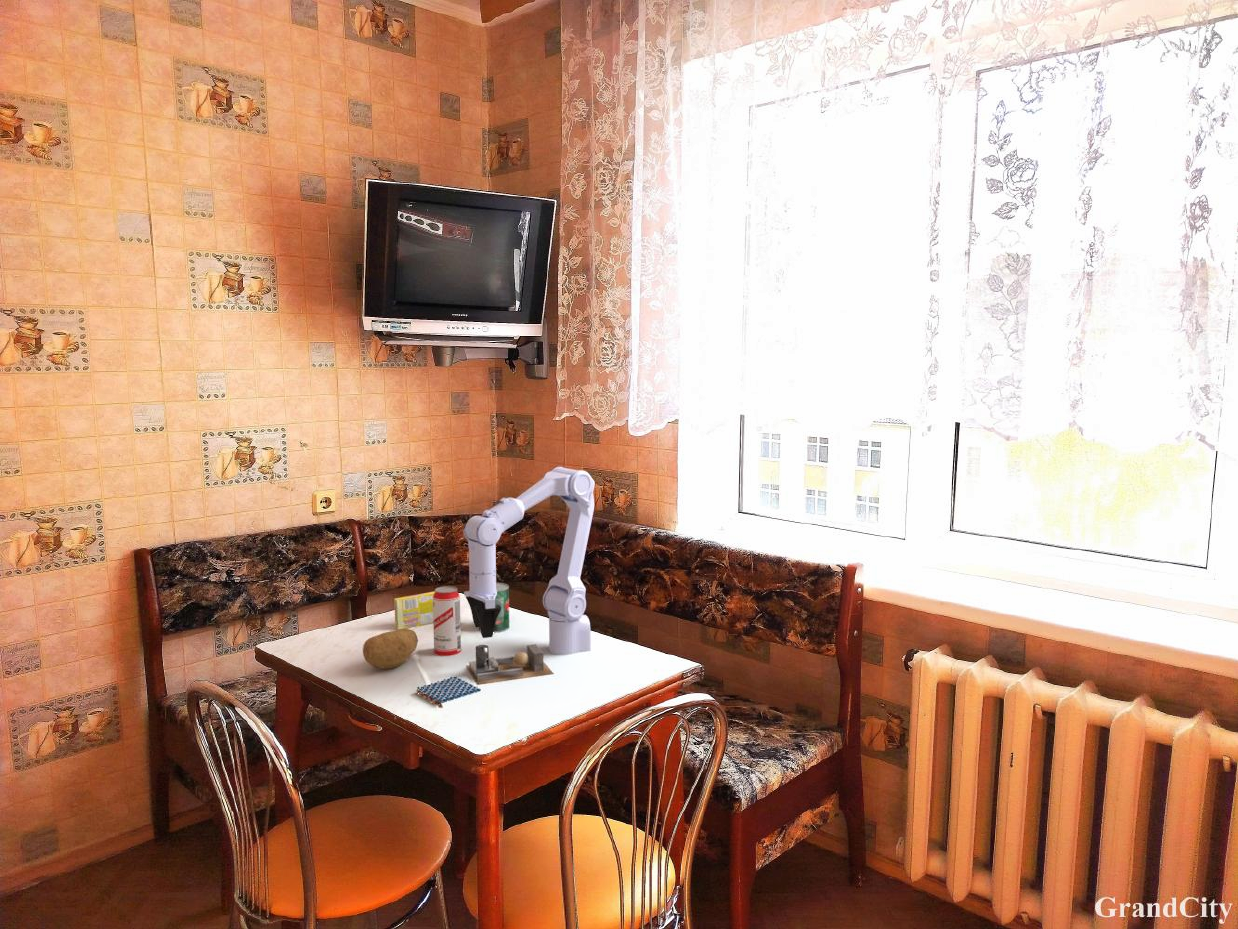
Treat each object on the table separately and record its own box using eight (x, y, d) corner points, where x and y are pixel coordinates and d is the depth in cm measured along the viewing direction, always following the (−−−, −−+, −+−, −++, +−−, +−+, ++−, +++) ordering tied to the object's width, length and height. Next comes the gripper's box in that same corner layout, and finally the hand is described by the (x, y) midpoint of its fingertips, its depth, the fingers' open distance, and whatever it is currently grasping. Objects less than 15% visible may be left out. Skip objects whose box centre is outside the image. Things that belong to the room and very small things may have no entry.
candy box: (452, 617, 230) (451, 587, 229) (455, 619, 229) (455, 589, 228) (394, 628, 221) (393, 597, 220) (397, 631, 219) (396, 599, 218)
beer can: (455, 660, 198) (453, 593, 196) (429, 658, 199) (427, 592, 197) (465, 651, 204) (463, 586, 202) (440, 649, 205) (438, 585, 203)
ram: (492, 666, 191) (492, 641, 190) (499, 675, 185) (498, 649, 185) (470, 669, 189) (470, 643, 188) (476, 678, 184) (475, 652, 183)
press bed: (538, 660, 198) (538, 639, 197) (554, 678, 187) (553, 656, 186) (465, 670, 192) (465, 648, 191) (477, 689, 181) (476, 666, 180)
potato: (430, 660, 198) (429, 627, 197) (382, 679, 186) (381, 644, 185) (401, 652, 203) (400, 620, 202) (353, 670, 192) (351, 636, 190)
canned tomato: (515, 627, 222) (515, 586, 220) (492, 634, 216) (491, 592, 215) (495, 621, 227) (495, 580, 226) (472, 628, 221) (471, 587, 220)
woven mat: (456, 683, 186) (456, 674, 185) (483, 697, 178) (483, 688, 178) (413, 695, 179) (413, 686, 178) (440, 711, 171) (439, 701, 171)
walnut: (526, 664, 193) (526, 648, 192) (531, 669, 189) (530, 654, 189) (511, 666, 191) (510, 651, 191) (515, 672, 188) (515, 656, 188)
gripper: (457, 565, 191) (458, 624, 192) (471, 581, 177) (472, 644, 179) (489, 562, 193) (489, 620, 195) (504, 578, 180) (505, 640, 181)
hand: (483, 631), depth 187 cm, fingers open, 7 cm apart
